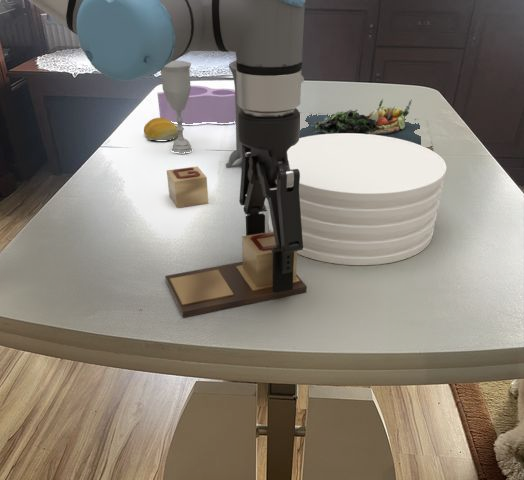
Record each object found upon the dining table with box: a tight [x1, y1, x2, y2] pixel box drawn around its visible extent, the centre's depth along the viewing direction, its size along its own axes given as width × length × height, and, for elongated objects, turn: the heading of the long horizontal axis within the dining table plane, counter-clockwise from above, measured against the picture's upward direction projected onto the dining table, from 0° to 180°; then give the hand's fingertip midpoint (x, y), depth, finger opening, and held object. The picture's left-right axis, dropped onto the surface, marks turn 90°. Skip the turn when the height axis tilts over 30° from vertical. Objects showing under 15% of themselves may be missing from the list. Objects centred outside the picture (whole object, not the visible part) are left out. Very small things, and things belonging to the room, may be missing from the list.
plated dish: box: [299, 99, 435, 152], centre depth 136 cm, size 35×28×7 cm
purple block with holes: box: [157, 84, 236, 124], centre depth 144 cm, size 20×12×7 cm, turn 81°
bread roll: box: [143, 117, 179, 141], centre depth 133 cm, size 8×9×4 cm
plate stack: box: [268, 133, 447, 266], centre depth 91 cm, size 28×28×12 cm
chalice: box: [160, 60, 193, 153], centre depth 120 cm, size 7×7×18 cm
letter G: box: [166, 166, 209, 209], centre depth 102 cm, size 6×6×5 cm
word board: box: [164, 261, 308, 319], centre depth 78 cm, size 18×10×1 cm, turn 111°
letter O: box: [241, 231, 298, 287], centre depth 78 cm, size 6×6×5 cm
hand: (268, 272), depth 79 cm, fingers open, 10 cm apart
